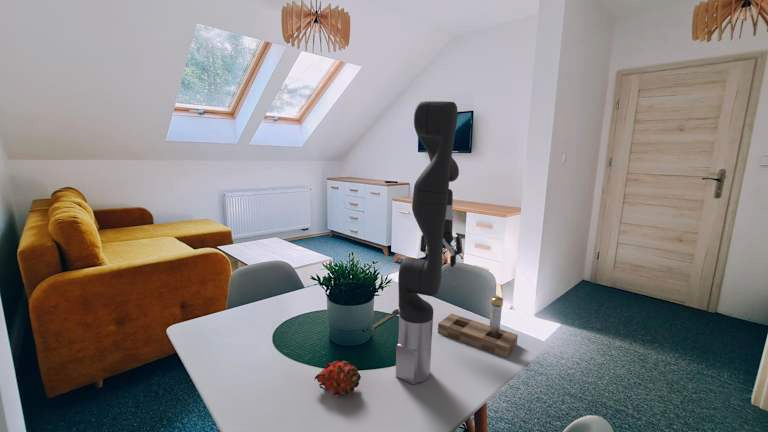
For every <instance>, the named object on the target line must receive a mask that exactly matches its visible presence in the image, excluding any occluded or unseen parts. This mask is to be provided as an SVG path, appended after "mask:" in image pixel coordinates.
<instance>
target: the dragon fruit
mask: <svg viewBox="0 0 768 432" xmlns="http://www.w3.org/2000/svg"><path fill="white" fill-rule="evenodd" d="M361 378H362V377H361V374H360V373H359V369H358V368H357V367H355V365H353V364H352V365H351V362H349V361H346V360H341V361H340V360H335V361H334V360H333V362H330V363H327V364H326V366H325V368H324V369H322V370H321V371H320V372H319V373H317V375H315V377H314V381H316V380H317V382H318V386H319V388H320V389H322V390H323V392H324V394H326V393H328V392H329V391H333V396H334V397H338V396H340V395H341V394H343V395H345V394H348V393H349V392H354V391H355V388H358V387H359V385H360V380H361Z"/></svg>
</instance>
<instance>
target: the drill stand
mask: <svg viewBox="0 0 768 432" xmlns="http://www.w3.org/2000/svg"><path fill="white" fill-rule="evenodd" d="M489 328H490V324H486V323H483V322H479V321H475V320H473V319H470V318H467V317H464V316H462V315H461V316H460V315H457V314H454V313H450V314H449V315H447V316H445V318H443V319H442V320H441V321H439V322H438V324H437V333H438V334H441V335H444V336H446V337H449V338H452V339H454V340H457V341H460V342H463V343H466V344H468V345H471V346H473V347H476V348H479V349H482V350H485V351H487V352H490V353H492V354H495V355H499V356H501V357H504V358H506V359H508V357H509V356H510V354H511V353H512V352H513V350H514V349H515V348H516V346H517V345H518V337H519V336H518V334H517V333H513V332H511V331H507V330H504V329H501V328H500V332H499V340H498V339H495V338H492V337H489Z"/></svg>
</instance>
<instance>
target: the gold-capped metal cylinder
mask: <svg viewBox="0 0 768 432" xmlns="http://www.w3.org/2000/svg"><path fill="white" fill-rule="evenodd" d="M490 299H491V301H490V305H491V306H490V307H491V308H490V318H489V319H490V320H489V326H490V328H489V337H492V338H495V339H498V340H499V332H500V329H501V319H502V308H503V304H504V298H503V297H501V296H496V295H495V296H491V298H490Z"/></svg>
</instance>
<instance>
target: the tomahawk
mask: <svg viewBox="0 0 768 432" xmlns="http://www.w3.org/2000/svg"><path fill="white" fill-rule="evenodd" d="M399 312H400V310H399V309H398V308H396V309H394V310H393V311H392V312H391V313H390V314H388V315H386V316H385V317H384V318H382V319H380V320H378V321H377V322H376V323H375V324H373V325H371V326H372V330H371V331H370V333H371V334H370V335H373V333H375V329H376V328H377V327H378V326H380V325H381V324H383V323H385V322H387V321H388V320H390V319H392V318H393V317H394V316H396V315H397V314H399Z"/></svg>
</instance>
